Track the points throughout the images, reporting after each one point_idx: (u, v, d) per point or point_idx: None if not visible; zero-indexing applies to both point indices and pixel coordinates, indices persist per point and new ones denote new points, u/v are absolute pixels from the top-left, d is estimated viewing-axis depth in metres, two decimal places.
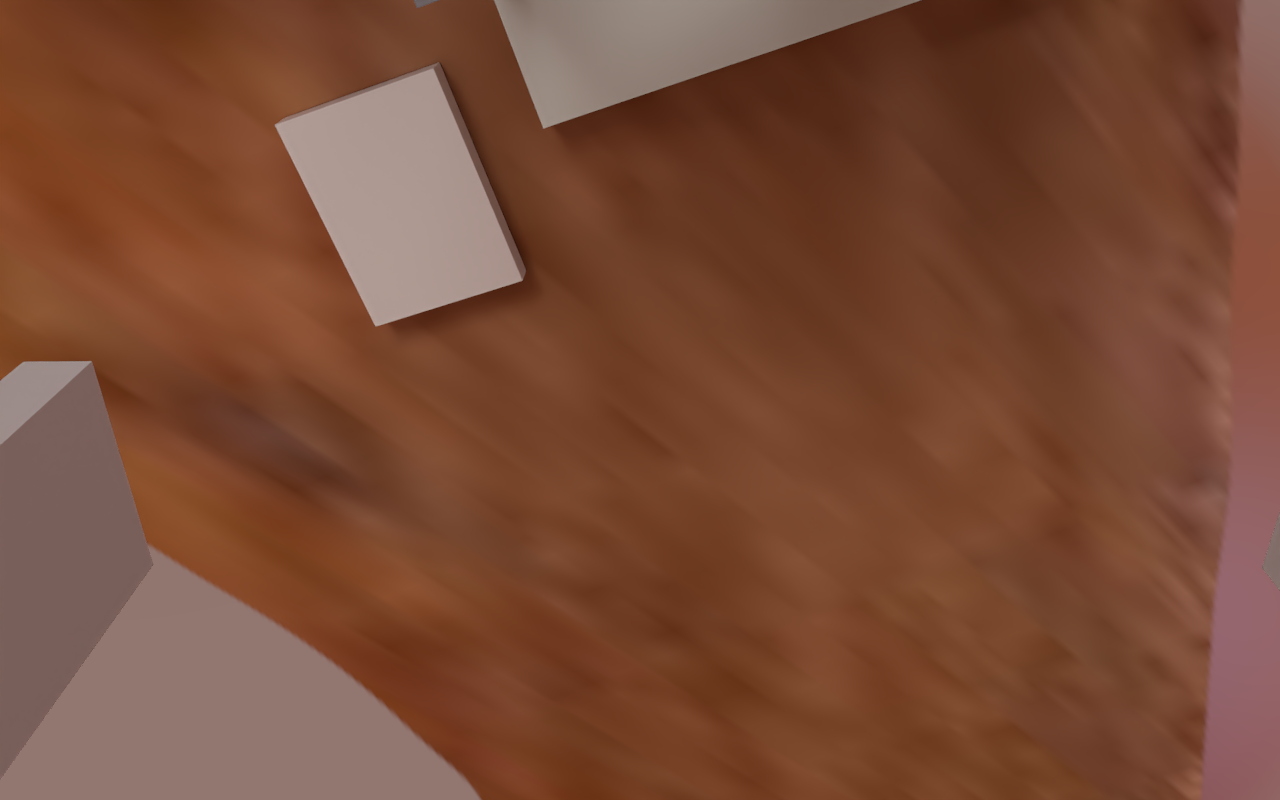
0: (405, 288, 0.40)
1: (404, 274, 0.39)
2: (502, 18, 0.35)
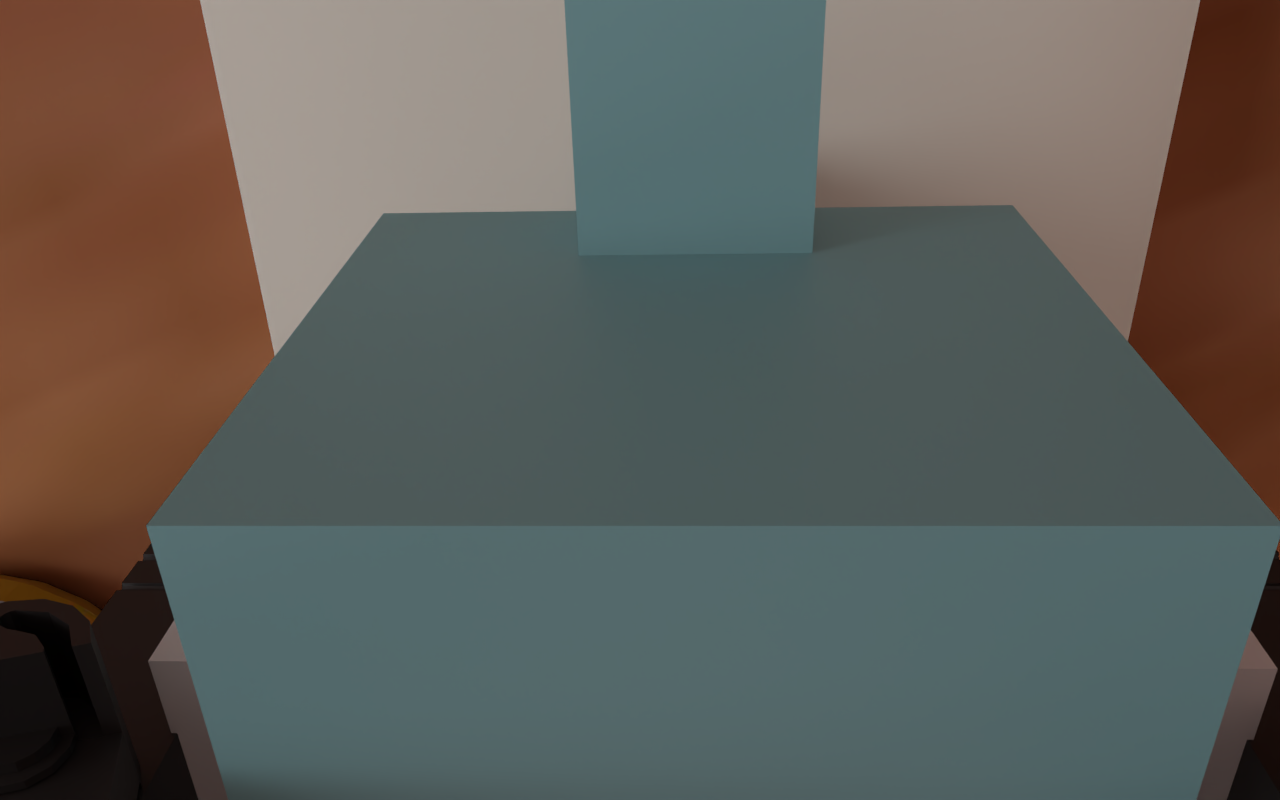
0: None
1: None
2: None
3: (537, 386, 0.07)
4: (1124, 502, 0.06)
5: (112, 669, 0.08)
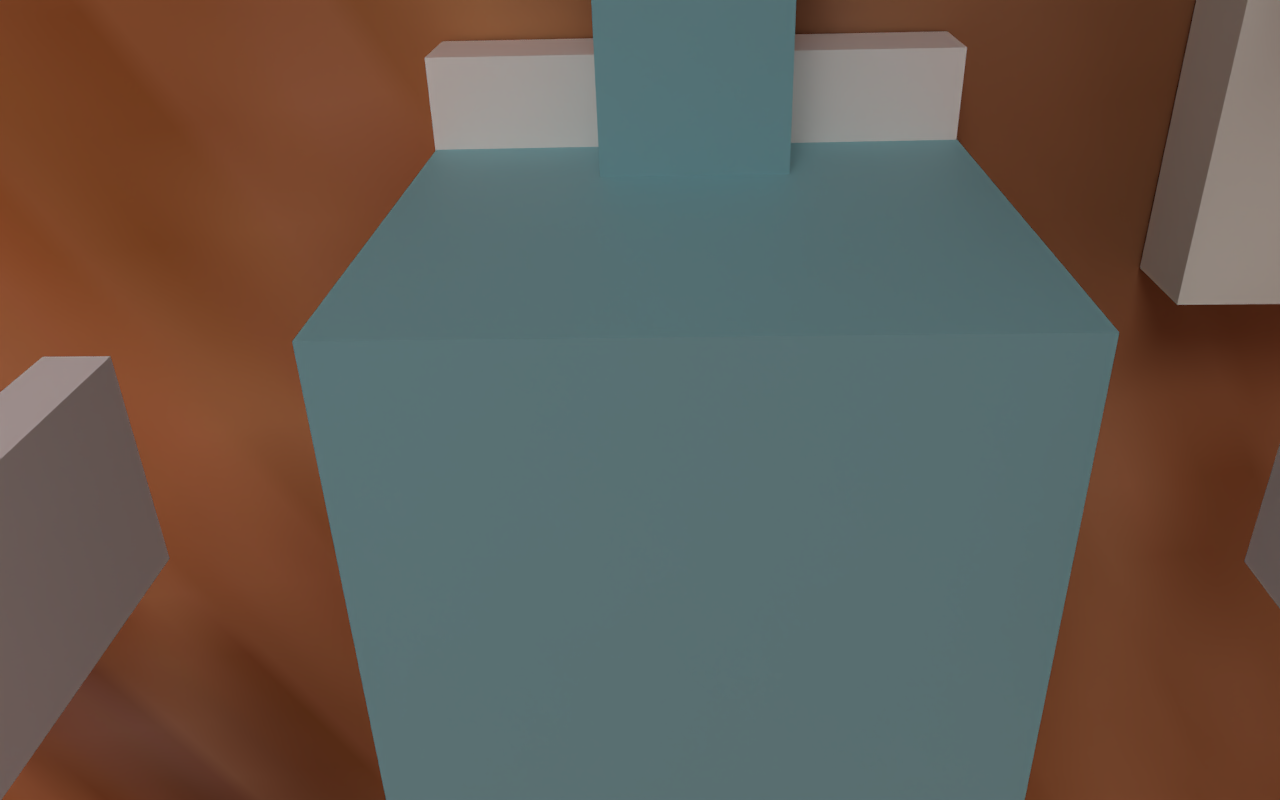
0: None
1: None
2: None
3: (572, 259, 0.09)
4: (1008, 319, 0.08)
5: None
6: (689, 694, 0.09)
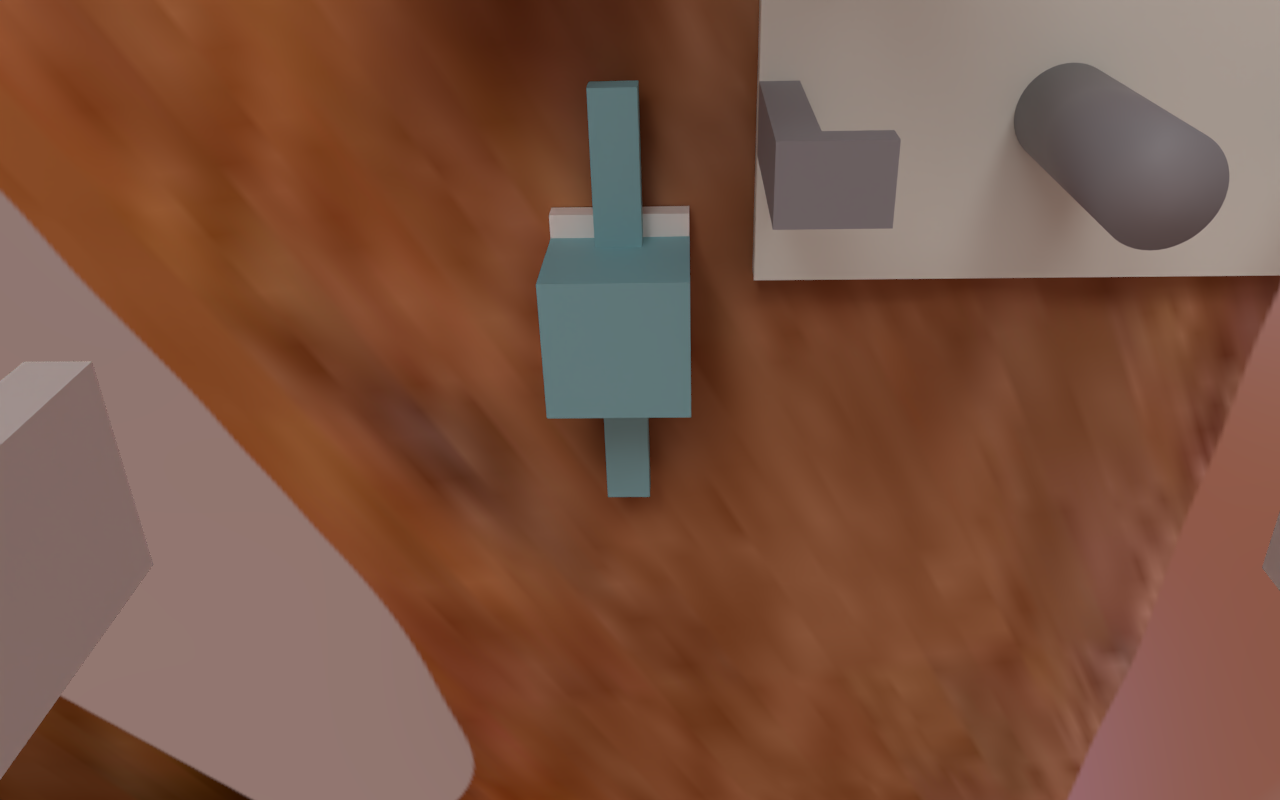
0: None
1: None
2: (757, 197, 0.45)
3: (588, 268, 0.43)
4: (671, 280, 0.42)
5: None
6: (614, 363, 0.43)
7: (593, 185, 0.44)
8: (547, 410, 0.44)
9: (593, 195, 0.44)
